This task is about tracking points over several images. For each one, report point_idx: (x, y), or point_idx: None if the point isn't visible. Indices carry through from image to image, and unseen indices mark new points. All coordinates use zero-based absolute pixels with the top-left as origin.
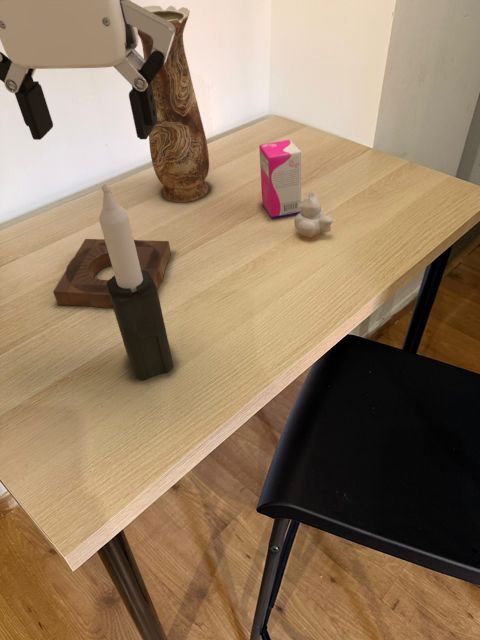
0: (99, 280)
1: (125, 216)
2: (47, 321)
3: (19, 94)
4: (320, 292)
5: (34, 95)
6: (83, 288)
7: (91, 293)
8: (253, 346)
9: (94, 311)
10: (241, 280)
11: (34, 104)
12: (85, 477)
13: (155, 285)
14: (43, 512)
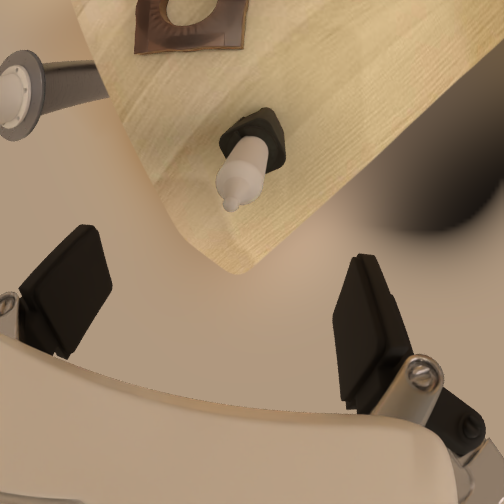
0: (177, 28)
1: (261, 189)
2: (140, 78)
3: (60, 356)
4: (426, 51)
5: (63, 323)
6: (163, 43)
7: (175, 49)
8: (361, 113)
9: (182, 57)
10: (345, 11)
11: (76, 319)
12: (234, 238)
13: (283, 151)
14: (216, 258)
